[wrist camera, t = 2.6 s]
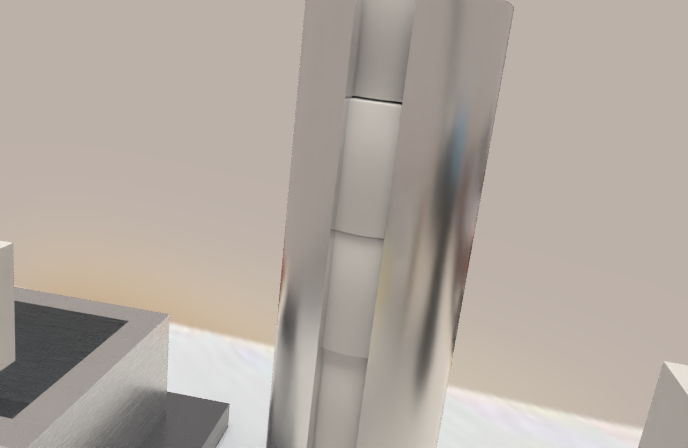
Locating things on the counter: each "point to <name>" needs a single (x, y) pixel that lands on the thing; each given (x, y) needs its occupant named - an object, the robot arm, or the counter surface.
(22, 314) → the plate
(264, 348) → the counter surface
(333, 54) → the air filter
